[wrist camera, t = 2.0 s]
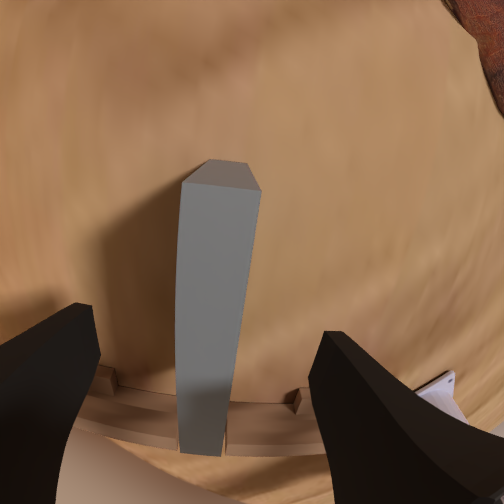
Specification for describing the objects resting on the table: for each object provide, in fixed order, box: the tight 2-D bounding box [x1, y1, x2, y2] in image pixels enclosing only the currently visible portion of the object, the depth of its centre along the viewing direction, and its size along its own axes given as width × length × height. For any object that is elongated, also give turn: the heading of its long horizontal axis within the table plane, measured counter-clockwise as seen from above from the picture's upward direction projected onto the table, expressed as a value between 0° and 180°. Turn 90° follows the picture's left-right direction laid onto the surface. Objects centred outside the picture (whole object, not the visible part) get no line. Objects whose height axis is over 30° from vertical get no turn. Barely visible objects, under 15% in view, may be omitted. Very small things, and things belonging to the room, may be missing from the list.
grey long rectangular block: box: [175, 159, 261, 457], centre depth 11 cm, size 10×2×7 cm, turn 172°
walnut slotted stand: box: [73, 365, 326, 457], centre depth 16 cm, size 18×5×4 cm, turn 82°
